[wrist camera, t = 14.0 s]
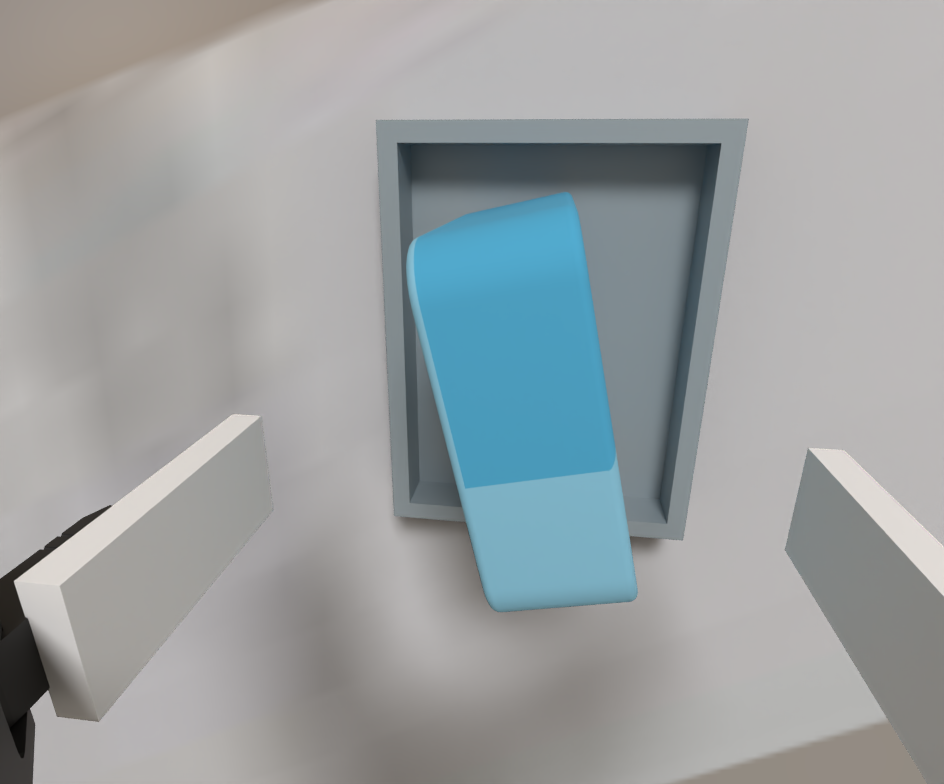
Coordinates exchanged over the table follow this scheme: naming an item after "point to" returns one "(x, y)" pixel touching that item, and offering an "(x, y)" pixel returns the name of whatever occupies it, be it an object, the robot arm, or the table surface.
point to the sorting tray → (610, 273)
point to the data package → (524, 403)
